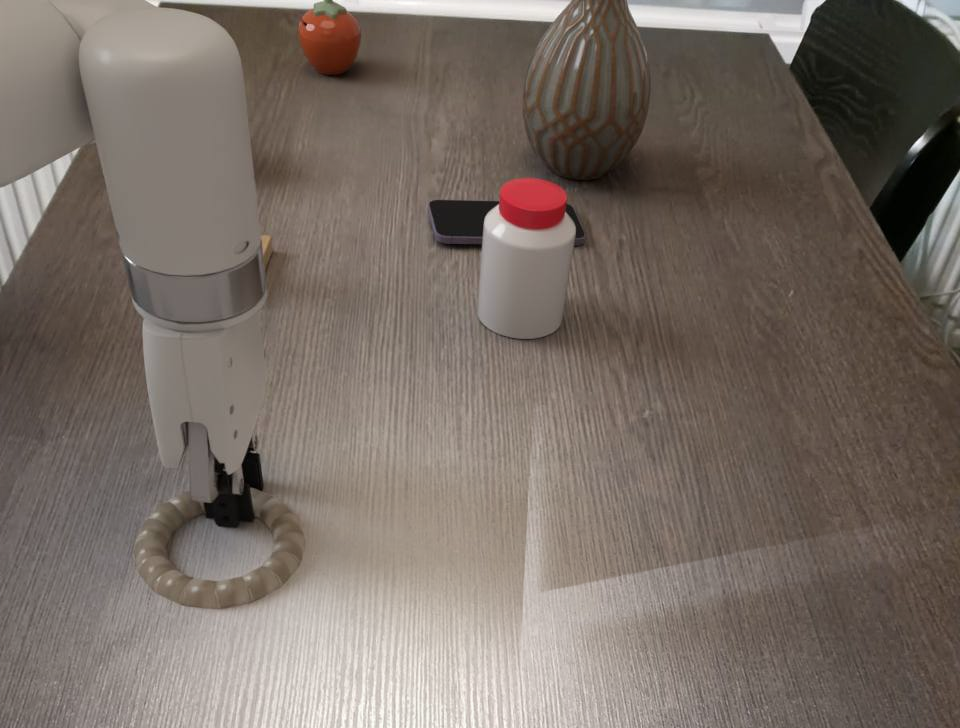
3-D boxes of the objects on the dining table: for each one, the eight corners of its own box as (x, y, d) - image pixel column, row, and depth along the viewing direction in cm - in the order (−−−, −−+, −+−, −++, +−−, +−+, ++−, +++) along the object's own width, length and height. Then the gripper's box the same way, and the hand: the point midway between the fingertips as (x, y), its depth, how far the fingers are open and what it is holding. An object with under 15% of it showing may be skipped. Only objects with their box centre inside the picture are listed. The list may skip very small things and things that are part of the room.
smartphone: (588, 239, 95) (436, 236, 92) (586, 250, 95) (436, 248, 93) (571, 202, 99) (426, 198, 96) (569, 212, 100) (426, 209, 97)
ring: (117, 609, 62) (110, 588, 61) (164, 493, 69) (158, 472, 68) (288, 625, 62) (285, 605, 61) (317, 508, 69) (315, 487, 68)
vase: (607, 135, 111) (637, -44, 98) (655, 190, 104) (694, 4, 90) (500, 143, 108) (516, -41, 94) (541, 200, 100) (564, 9, 87)
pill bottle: (498, 346, 83) (510, 223, 75) (463, 298, 88) (471, 177, 79) (577, 330, 86) (597, 210, 77) (539, 285, 90) (555, 166, 82)
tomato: (300, 55, 119) (295, -20, 113) (361, 57, 120) (359, -17, 114) (299, 80, 115) (294, 3, 108) (362, 82, 116) (361, 6, 109)
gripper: (168, 196, 59) (211, 434, 73) (83, 347, 49) (152, 590, 63) (290, 208, 59) (310, 444, 74) (230, 362, 49) (266, 601, 63)
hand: (237, 510), depth 68 cm, fingers closed on ring, 2 cm apart
